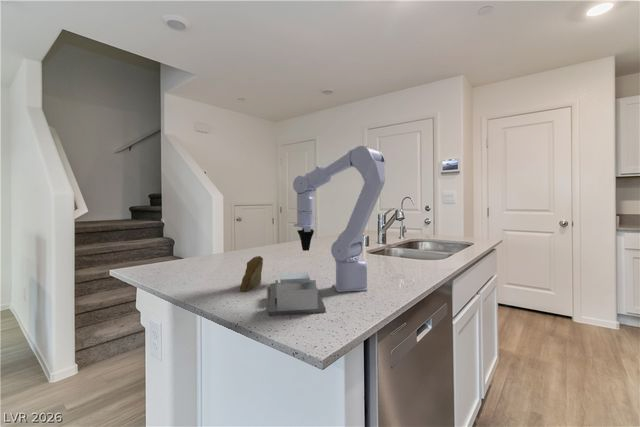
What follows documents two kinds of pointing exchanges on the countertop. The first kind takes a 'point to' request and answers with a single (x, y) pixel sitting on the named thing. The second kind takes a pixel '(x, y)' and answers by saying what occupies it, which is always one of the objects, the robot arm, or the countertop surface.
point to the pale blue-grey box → (295, 278)
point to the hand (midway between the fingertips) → (305, 250)
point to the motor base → (295, 299)
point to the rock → (252, 274)
